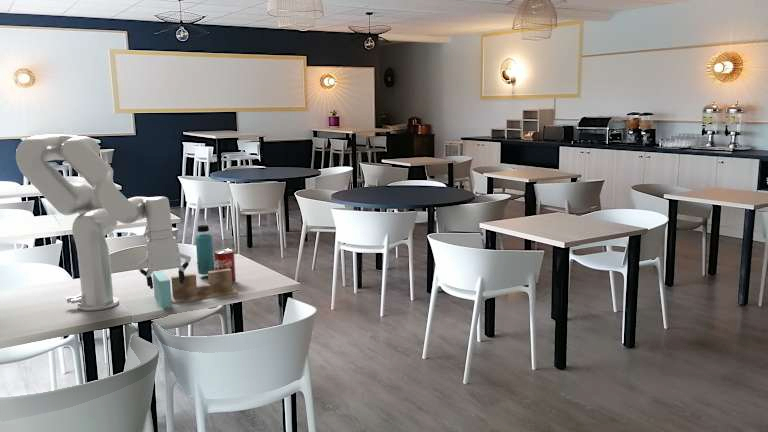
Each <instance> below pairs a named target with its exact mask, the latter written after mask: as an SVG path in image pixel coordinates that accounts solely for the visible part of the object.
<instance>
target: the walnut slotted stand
mask: <svg viewBox="0 0 768 432" xmlns="http://www.w3.org/2000/svg"><path fill="white" fill-rule="evenodd" d="M184 277H185V280H183V284H182V283H180V282H179V274H178V275H172V276H171V277H170V280H171V289H172V291H171V293H172V294H171V301H172V304H180V303H186V302H192V301H198V300H205V299H210V298H211V299H212V298H217V297H225V296H230V295H231V296H232V295H238V294H239V292H238V291H237V289H235V288H234V287H233V284H232V270H231V269H223V270H215V271H208V275H207V280H208V281H207V282H208V283H206V284H199V285H198V284H197V274H196V273H195V272H194V273H187V274H186V273H184Z"/></svg>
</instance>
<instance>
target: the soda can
mask: <svg viewBox="0 0 768 432" xmlns="http://www.w3.org/2000/svg"><path fill="white" fill-rule="evenodd" d="M213 253H214V264H215V265H214V267H215V270H223V269H231V270H232V285H233V284H234V283H235V282H236V281H237V280H236V264H235V263H236V261H235V251H234V250H233V249H229V248H226V249H219V250H215V251H214V252H213Z"/></svg>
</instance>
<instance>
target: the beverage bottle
mask: <svg viewBox="0 0 768 432" xmlns="http://www.w3.org/2000/svg"><path fill="white" fill-rule="evenodd" d="M209 228H210V227H209V225H208V224H201V225H197V232H199V234H197V235H196V236H195V247H196V248H195V249H196V261H197V262H196V265H197V273H198V275H201V276H202V275H203V276H205V275H207V276H208V271H215V264H214V253H215V252H214V245H213V243H214V241H213V236H212V235H211V234H210V233H206V232H209V231H210V229H209Z"/></svg>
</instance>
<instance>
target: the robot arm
mask: <svg viewBox="0 0 768 432" xmlns="http://www.w3.org/2000/svg"><path fill="white" fill-rule="evenodd" d="M100 149H101V148H100V146H99V143H98V142H97V141H96V140H95V139H94V138H92V137H89V136H85V135H84V136H81V135H79V136H78V135H69V134H67V135H66V134H55V133H54V134H53V133H51V134H42V135H41V134H39V135H34V136H29V137H26V138H25V139H23V140H21V142H19V144H18V146H17V148H16V153H15V160H16V165H17V168H18V169H19V171H20V172H21V174H22V175H23V176H24V177H25V178H26V180H27V181H28V182H29V183H31V184H32V185H33V186H34V187H35V189H36V190H37V191H38V192H40V194H41V195H42V196H43V197H44V198H45V199H46V200H47V201H48V203H50V205H51V206H52V207H53V208H54V210H56V211H57V212H58V213H59V214H61V215H64V216H73V215H76V214H79V215H77V216H76V218H75V219H74V221H73V223H72V226H71V227H72V228H71V229H72V235H73V239H74V242H75V247H76V252H77V260H78V270H79V281H80V290H81V291H80V292H79V294H77V295H75V296H68V297H67V296H66V303H67V304H70V303H71V304H77V309H78V310H81V311H87V312H88V311H90V312H91V311H100V310H106V309H110V308H112V307H115V306H117V305H119V301H120V300H119V298H118V297H116V296H114V290H113V279H112V278H113V277H112V269H111V257H110V249H109V245H108V242H107V240H106V236H107V235H109V234H111V233H113V232H114V231H115V229H116V228H117V226H118V222H120V223H121V224H124V225H130V224H133V223H135V222H137V221H140V220H143V219H146V225H147V231H146V232H145V233H143V238H148V239H147V240H146V257H145V258H144V259H141V260H140V262H138V263H137V264H136V265H135V267H136V269H138V271H139V272H140V274H141V275H143V276H145V277H146V286H147V287H149V289H150V290H154V283H153V276H152V275H153V272H158V271H165V270H171V269H178V271H177V272H178V275H179V282H180V283H182V284H183V280H185V277H184V275H185V271H186V269H187V268H188V266H189V264H190V262H191V260H192V257H191V256H189V255H188V254H183V253H180V248H179V243H178V241H177V237H176V236H174V234H173V224H172V214H171V208H170V200H169V198H168V197H166V196H150V197H147V196H134V197H129V198H127V197H126V196H125V195H124V194H123V193H122V192H121V191H120V190H119V188H118V187H117V186H116V184H115V182H114V178H113V177H114V169H113V168H112V167H111V166H110V164H108V163H107V161H105V160H104V159H103V158H102V157H101V156H100V152H101V150H100ZM50 161H65V162H66V163H67V164H68V165H69V166H70V167H71V168H72V169H74V170H75V172H76V173H78V175H79V176H80V177H82V178H83V180H84V181H86V182H87V183H88V184H89V185H90V186H89V185H87V184H85V183H82V182H81V183H80V182H75V183H72V184H71V183H70V182H69V181H68V180H67V179H66V177H64V176H63V174H61V172H59V170H57V169H56V168H54V167H53V166H51V165H50V164H49V163H48V162H50ZM182 259H184V262H183V264H182ZM181 264H182V265H181ZM145 265H147V270H145V269H144V268H143V266H145Z"/></svg>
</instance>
